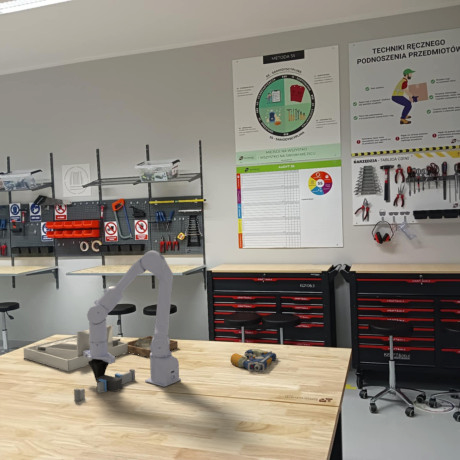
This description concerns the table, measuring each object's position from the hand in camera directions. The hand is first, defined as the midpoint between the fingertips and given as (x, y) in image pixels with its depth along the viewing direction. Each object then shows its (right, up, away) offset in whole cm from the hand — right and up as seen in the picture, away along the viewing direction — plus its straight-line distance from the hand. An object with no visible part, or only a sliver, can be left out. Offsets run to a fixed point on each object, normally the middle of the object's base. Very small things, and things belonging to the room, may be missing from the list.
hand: (99, 381), depth 150 cm
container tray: (-20, -1, +35) cm, 40 cm away
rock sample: (+10, -1, +38) cm, 39 cm away
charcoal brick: (+4, -1, -3) cm, 6 cm away
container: (-18, -1, +35) cm, 40 cm away
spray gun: (+52, 0, +18) cm, 55 cm away
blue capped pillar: (+4, -1, -5) cm, 6 cm away
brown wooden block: (+9, 0, +41) cm, 42 cm away
